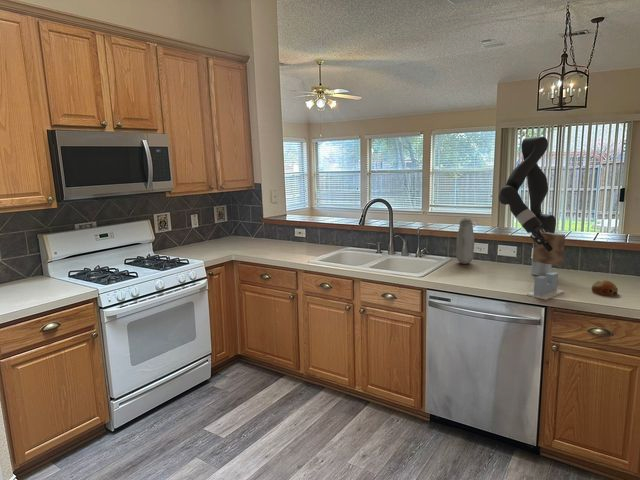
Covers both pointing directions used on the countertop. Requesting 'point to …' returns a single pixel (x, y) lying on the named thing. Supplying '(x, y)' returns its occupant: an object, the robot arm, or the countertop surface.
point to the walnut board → (555, 254)
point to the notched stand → (546, 286)
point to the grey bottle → (465, 241)
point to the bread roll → (605, 288)
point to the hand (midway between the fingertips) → (552, 249)
